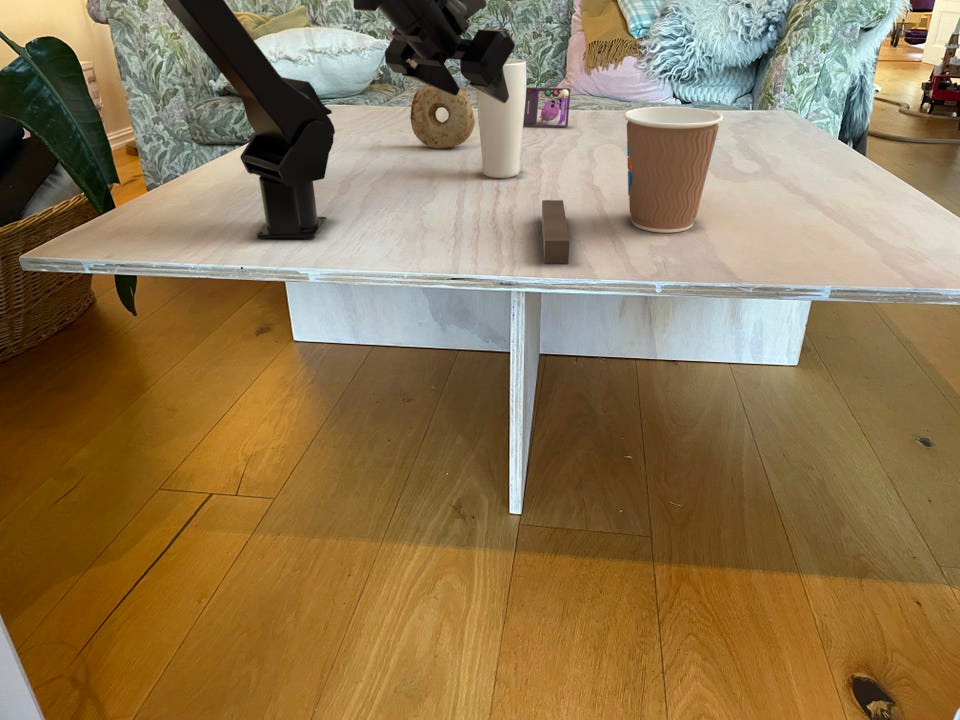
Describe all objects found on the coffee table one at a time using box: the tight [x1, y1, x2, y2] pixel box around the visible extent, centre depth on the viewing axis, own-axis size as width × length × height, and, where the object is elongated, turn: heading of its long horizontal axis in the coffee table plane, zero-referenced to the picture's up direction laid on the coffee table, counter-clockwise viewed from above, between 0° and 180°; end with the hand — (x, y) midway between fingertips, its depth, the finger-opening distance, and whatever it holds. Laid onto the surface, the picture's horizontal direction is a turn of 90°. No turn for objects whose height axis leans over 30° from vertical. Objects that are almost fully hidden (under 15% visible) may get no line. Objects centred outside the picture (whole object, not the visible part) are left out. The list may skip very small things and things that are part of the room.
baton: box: [541, 199, 570, 265], centre depth 79 cm, size 14×2×2 cm, turn 177°
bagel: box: [409, 84, 476, 149], centre depth 118 cm, size 10×4×10 cm, turn 77°
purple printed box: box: [523, 86, 571, 129], centre depth 135 cm, size 7×5×9 cm
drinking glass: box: [475, 58, 527, 179], centre depth 101 cm, size 7×7×15 cm
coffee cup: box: [623, 106, 724, 234], centre depth 82 cm, size 10×10×12 cm
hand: (481, 96), depth 97 cm, fingers open, 9 cm apart
